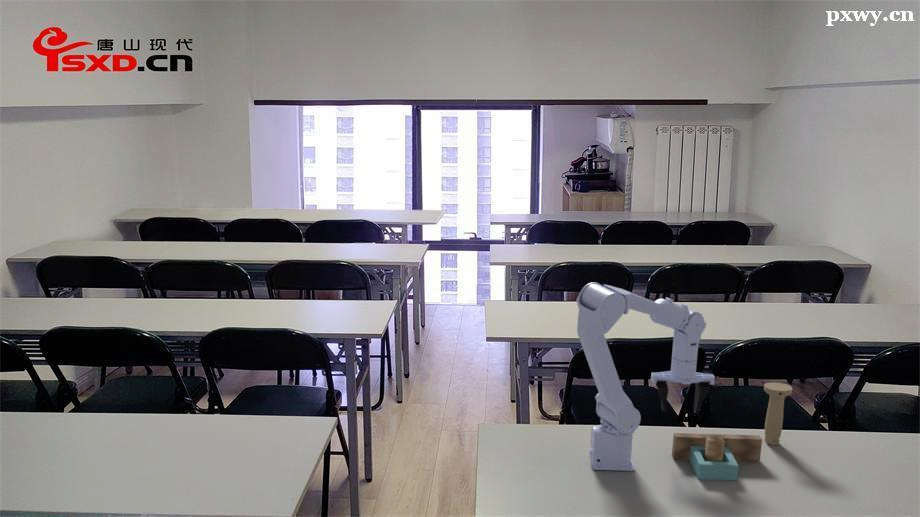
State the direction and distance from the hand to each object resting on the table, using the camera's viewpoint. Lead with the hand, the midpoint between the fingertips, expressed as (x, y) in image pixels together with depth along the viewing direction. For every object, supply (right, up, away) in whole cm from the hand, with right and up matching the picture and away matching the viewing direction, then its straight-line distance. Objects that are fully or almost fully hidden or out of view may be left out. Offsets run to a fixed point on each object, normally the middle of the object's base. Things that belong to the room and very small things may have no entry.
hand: (679, 410), depth 194 cm
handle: (+24, -9, +5) cm, 26 cm away
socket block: (+5, -12, -8) cm, 15 cm away
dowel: (+5, -12, -8) cm, 15 cm away
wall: (+8, -11, -3) cm, 14 cm away
